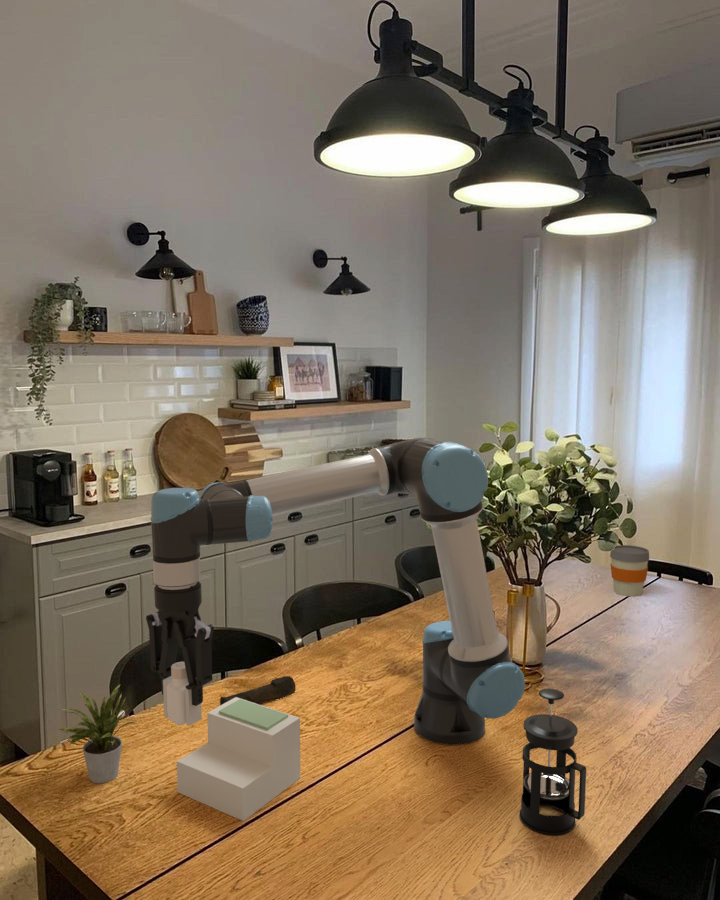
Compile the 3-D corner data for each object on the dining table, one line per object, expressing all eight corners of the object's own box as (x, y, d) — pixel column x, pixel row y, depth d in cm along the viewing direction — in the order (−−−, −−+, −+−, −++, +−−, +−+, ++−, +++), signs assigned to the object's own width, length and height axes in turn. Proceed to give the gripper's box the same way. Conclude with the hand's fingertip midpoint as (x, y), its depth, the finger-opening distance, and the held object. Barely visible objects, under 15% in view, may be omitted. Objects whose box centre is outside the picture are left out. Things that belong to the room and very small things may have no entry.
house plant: (82, 752, 151) (79, 674, 149) (150, 753, 151) (147, 675, 149) (51, 792, 137) (47, 707, 135) (126, 794, 137) (123, 709, 135)
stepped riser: (300, 777, 142) (299, 715, 140) (243, 821, 129) (242, 752, 127) (237, 753, 151) (235, 694, 149) (177, 792, 137) (175, 727, 136)
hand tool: (226, 718, 166) (225, 698, 166) (219, 711, 169) (218, 691, 169) (300, 697, 177) (300, 678, 176) (292, 691, 180) (292, 672, 179)
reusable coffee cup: (611, 597, 251) (613, 553, 249) (605, 586, 263) (607, 544, 261) (651, 599, 249) (653, 555, 247) (643, 587, 261) (645, 545, 259)
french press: (505, 818, 130) (509, 691, 127) (533, 795, 136) (537, 674, 134) (568, 848, 122) (573, 713, 119) (594, 822, 128) (599, 694, 126)
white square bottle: (187, 711, 129) (185, 658, 127) (199, 719, 126) (197, 665, 125) (166, 719, 126) (163, 665, 125) (178, 727, 123) (176, 672, 122)
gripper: (233, 585, 121) (237, 722, 124) (158, 569, 131) (163, 696, 134) (199, 598, 115) (204, 741, 118) (123, 580, 125) (129, 713, 127)
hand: (182, 717), depth 126 cm, fingers closed on white square bottle, 4 cm apart
